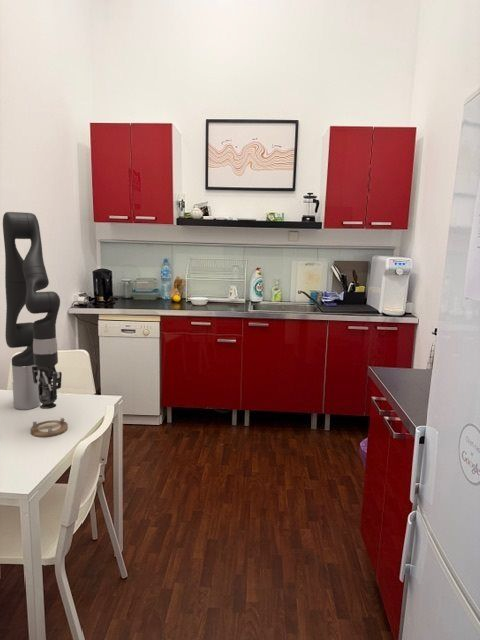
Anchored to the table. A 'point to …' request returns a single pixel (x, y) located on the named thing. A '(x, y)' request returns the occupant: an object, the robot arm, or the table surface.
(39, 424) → the pin holder
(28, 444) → the table surface
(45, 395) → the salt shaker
